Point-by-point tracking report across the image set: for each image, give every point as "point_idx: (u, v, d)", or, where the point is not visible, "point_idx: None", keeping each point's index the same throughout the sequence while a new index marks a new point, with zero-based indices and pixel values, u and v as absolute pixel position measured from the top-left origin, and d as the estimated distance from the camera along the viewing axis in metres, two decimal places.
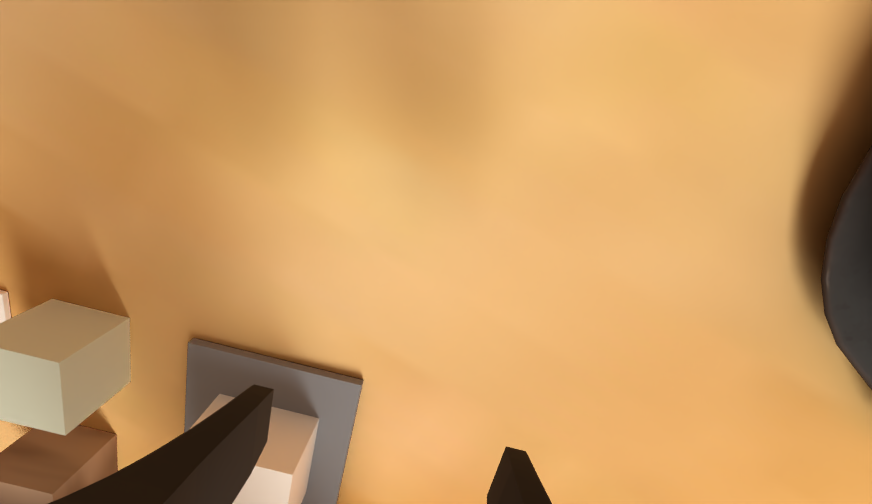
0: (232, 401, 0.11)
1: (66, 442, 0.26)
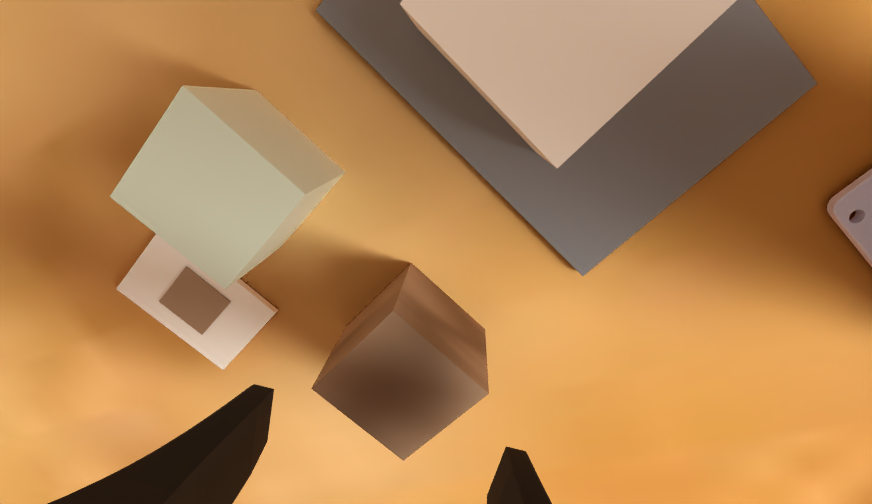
0: (232, 401, 0.11)
1: (373, 306, 0.17)
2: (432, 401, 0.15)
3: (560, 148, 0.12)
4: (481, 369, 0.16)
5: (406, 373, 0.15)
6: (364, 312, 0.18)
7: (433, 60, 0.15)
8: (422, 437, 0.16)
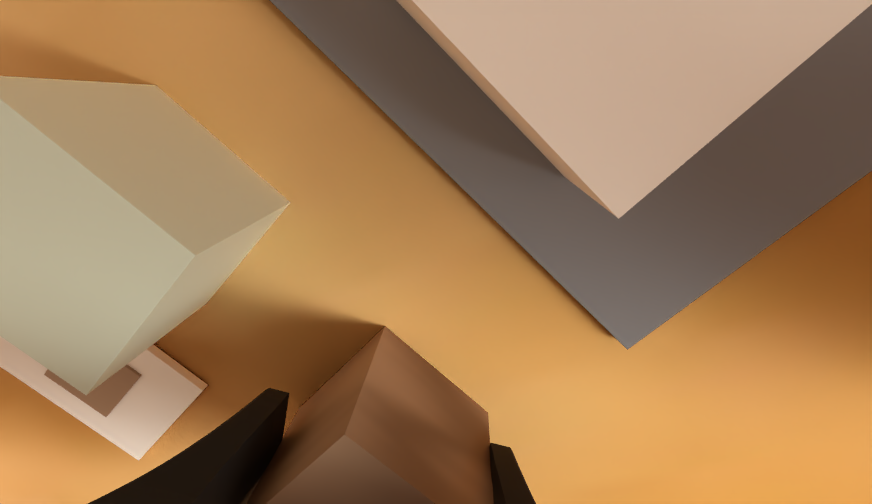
0: (249, 405, 0.11)
1: (330, 394, 0.12)
2: None
3: (626, 184, 0.07)
4: (484, 500, 0.10)
5: None
6: (320, 396, 0.13)
7: (412, 40, 0.10)
8: None
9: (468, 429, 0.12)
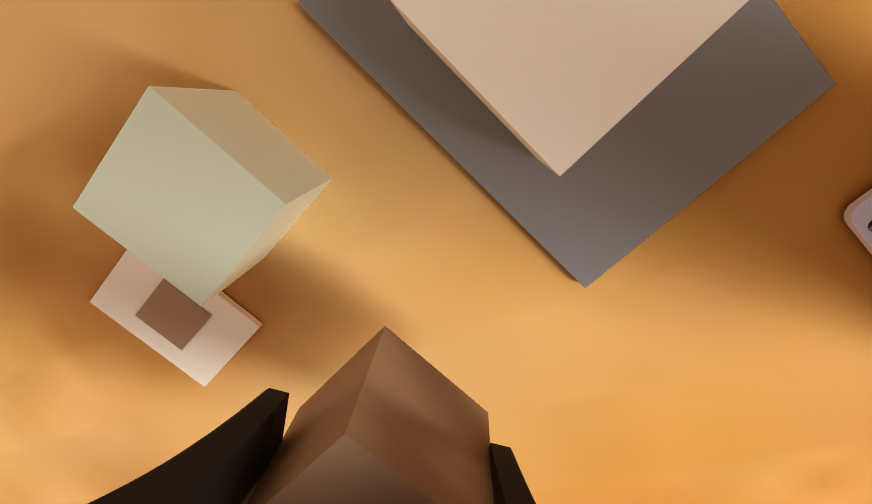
0: (249, 405, 0.11)
1: (330, 393, 0.12)
2: None
3: (563, 154, 0.11)
4: (484, 500, 0.10)
5: None
6: (320, 396, 0.13)
7: (425, 59, 0.14)
8: None
9: (468, 429, 0.12)
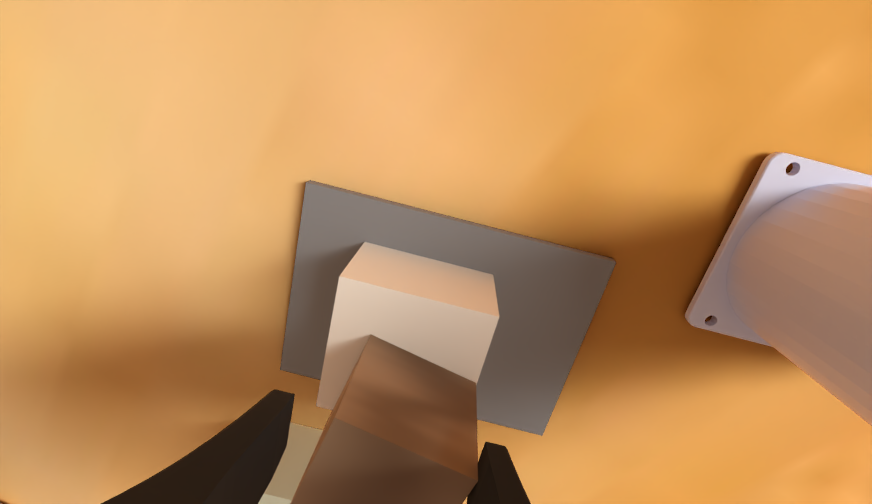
0: (255, 407, 0.11)
1: (340, 397, 0.15)
2: (418, 503, 0.13)
3: None
4: (468, 447, 0.13)
5: (376, 480, 0.12)
6: (337, 402, 0.16)
7: None
8: None
9: (454, 398, 0.15)
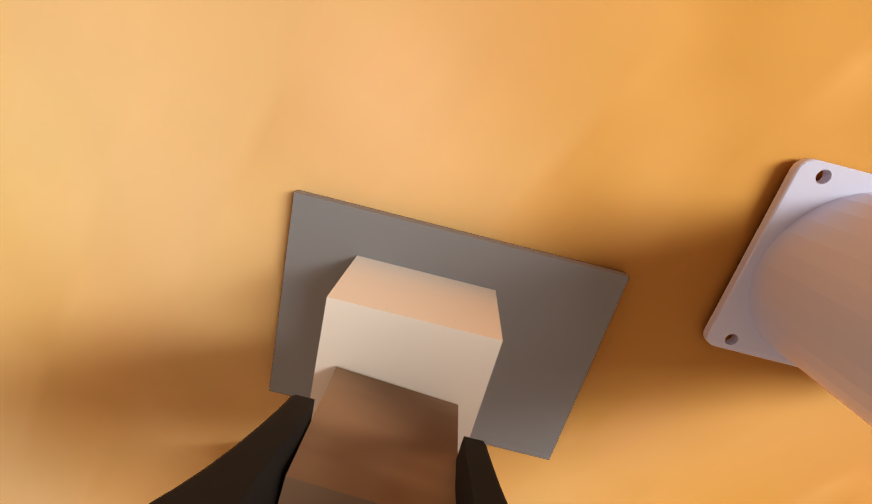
0: (277, 412, 0.11)
1: None
2: None
3: None
4: (445, 486, 0.12)
5: None
6: None
7: None
8: None
9: (431, 427, 0.14)
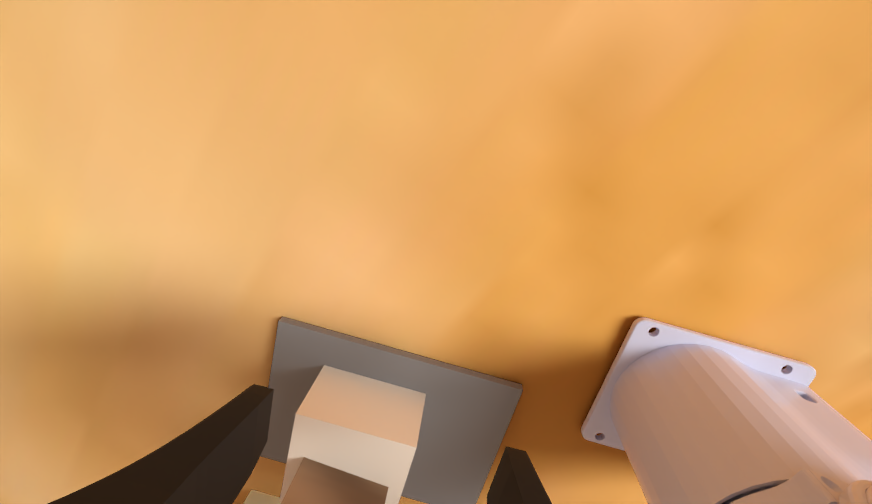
0: (232, 401, 0.11)
1: None
2: None
3: None
4: None
5: None
6: None
7: None
8: None
9: None
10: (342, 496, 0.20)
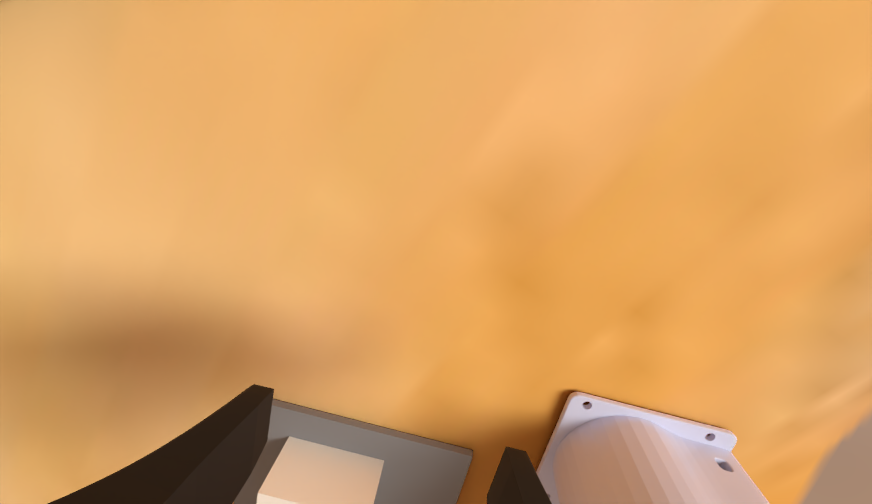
0: (232, 401, 0.11)
1: None
2: None
3: None
4: None
5: None
6: None
7: None
8: None
9: None
10: None
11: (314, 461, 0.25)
